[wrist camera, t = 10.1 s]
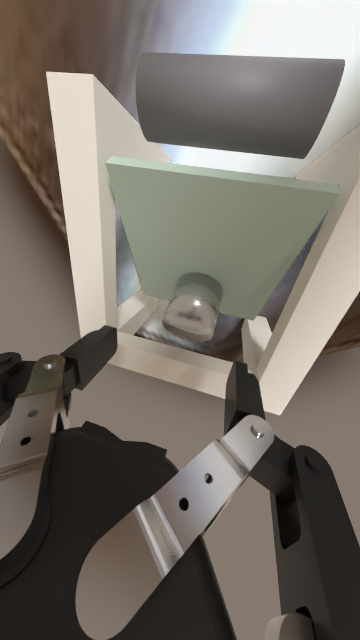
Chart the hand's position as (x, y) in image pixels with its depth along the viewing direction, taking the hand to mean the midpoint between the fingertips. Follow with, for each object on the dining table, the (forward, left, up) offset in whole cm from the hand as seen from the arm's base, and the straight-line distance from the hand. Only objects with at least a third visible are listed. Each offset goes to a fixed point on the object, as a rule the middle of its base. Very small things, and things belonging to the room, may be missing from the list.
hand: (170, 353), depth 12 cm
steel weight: (0, -1, -10) cm, 10 cm away
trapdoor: (0, -9, -11) cm, 14 cm away
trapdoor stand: (0, -3, -20) cm, 20 cm away
